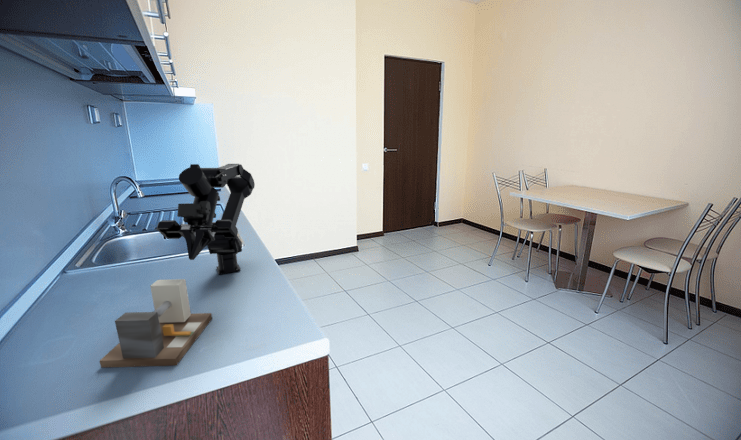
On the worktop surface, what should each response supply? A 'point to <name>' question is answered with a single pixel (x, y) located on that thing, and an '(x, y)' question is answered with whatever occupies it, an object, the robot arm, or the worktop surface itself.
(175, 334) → the drag pointer
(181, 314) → the cream eraser-shaped block
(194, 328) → the board
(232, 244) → the robot arm
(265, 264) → the worktop surface
